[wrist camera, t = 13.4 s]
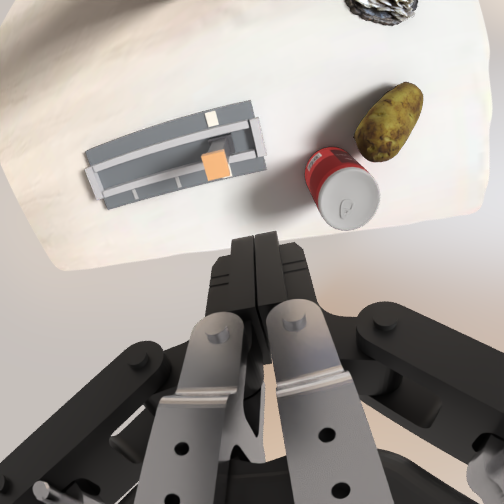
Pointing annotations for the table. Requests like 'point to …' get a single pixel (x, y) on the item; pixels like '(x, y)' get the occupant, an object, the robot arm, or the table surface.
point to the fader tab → (218, 156)
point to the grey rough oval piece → (383, 10)
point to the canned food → (341, 189)
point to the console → (173, 155)
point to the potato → (389, 123)
